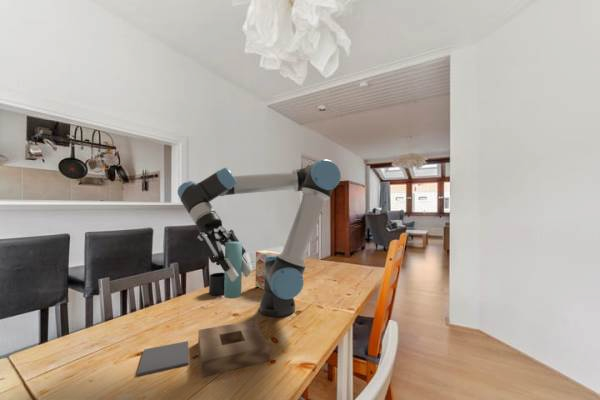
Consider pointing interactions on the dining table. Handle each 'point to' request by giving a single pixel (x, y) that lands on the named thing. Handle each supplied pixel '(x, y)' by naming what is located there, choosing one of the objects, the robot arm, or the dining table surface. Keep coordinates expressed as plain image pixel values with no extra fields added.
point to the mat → (163, 358)
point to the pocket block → (231, 347)
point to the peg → (235, 257)
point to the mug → (216, 284)
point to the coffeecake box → (261, 266)
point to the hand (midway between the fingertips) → (242, 276)
